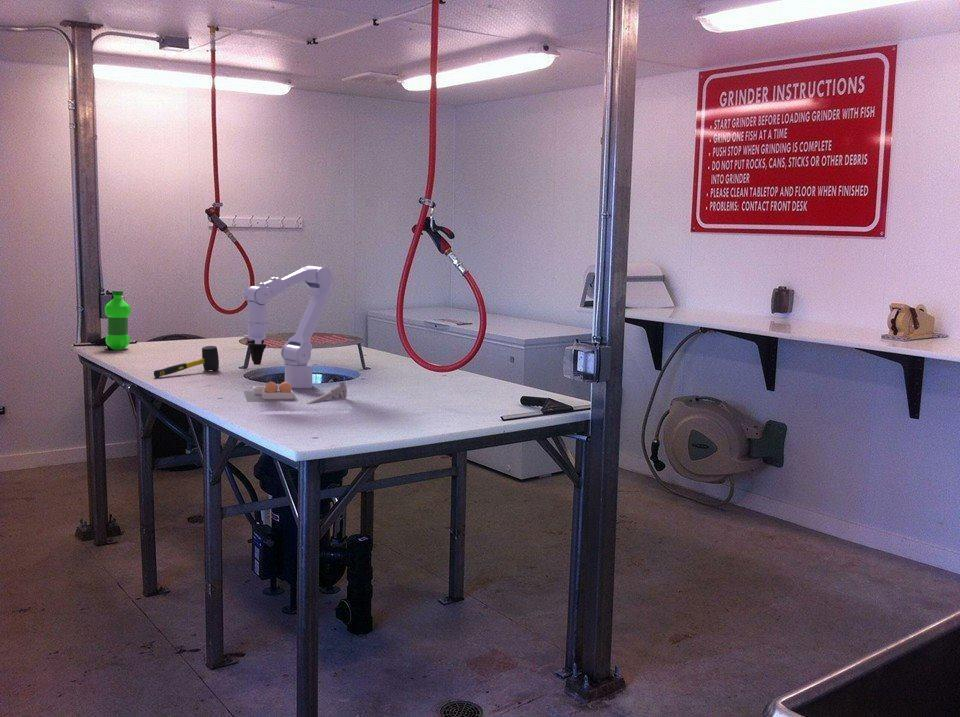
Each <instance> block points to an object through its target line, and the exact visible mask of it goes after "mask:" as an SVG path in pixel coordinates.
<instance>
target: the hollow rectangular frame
mask: <svg viewBox="0 0 960 717" xmlns="http://www.w3.org/2000/svg"><path fill="white" fill-rule="evenodd" d="M294 395H295V393H294V391H293V389H292V390H291V392H285V393H281V392H280V390H279V389H277V392H276V393H267V392H266V391H265V390H262V398H263V399H293V398H294Z"/></svg>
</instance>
